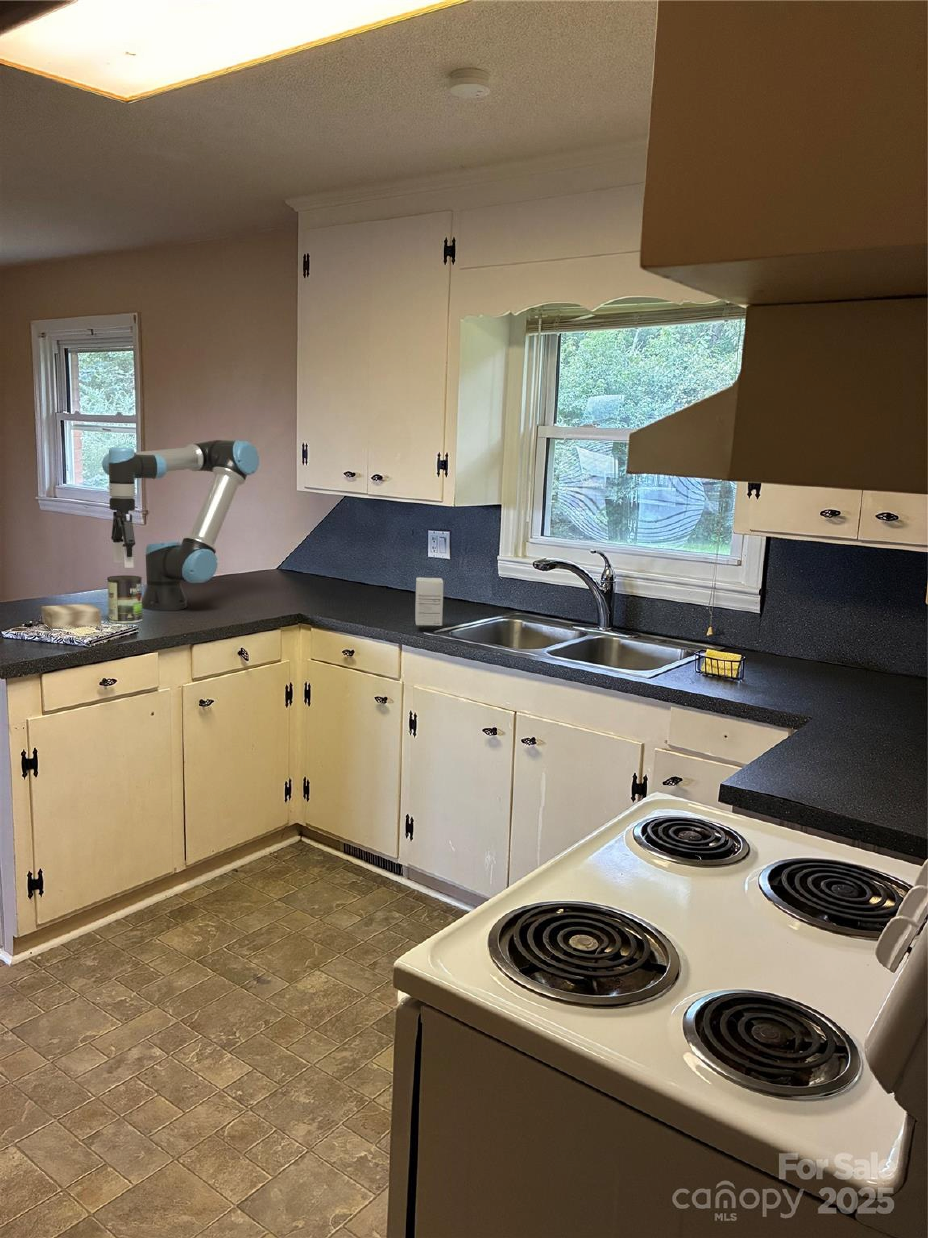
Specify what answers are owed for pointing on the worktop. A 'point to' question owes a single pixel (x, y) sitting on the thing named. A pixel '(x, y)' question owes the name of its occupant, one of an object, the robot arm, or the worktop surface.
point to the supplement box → (429, 601)
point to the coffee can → (125, 599)
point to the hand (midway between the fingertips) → (123, 565)
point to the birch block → (71, 616)
